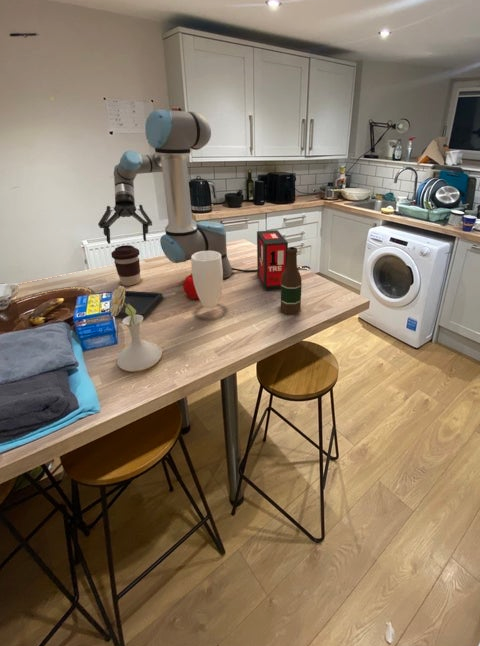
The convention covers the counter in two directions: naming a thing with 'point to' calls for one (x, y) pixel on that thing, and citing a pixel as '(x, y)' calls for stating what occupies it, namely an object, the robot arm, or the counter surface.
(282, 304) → the beer bottle
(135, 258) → the coffee cup
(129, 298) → the black square tray
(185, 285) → the fruit
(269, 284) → the cleaning product box
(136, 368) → the flower in vase
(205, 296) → the cup
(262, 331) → the counter surface
